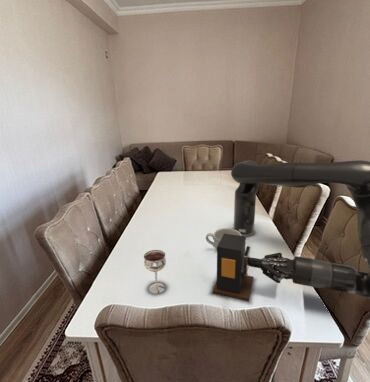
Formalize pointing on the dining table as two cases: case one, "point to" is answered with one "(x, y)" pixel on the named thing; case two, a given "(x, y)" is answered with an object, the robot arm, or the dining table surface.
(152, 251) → the wineglass
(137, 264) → the dining table surface
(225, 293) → the dispenser
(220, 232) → the teacup
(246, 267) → the push plate
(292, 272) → the robot arm
